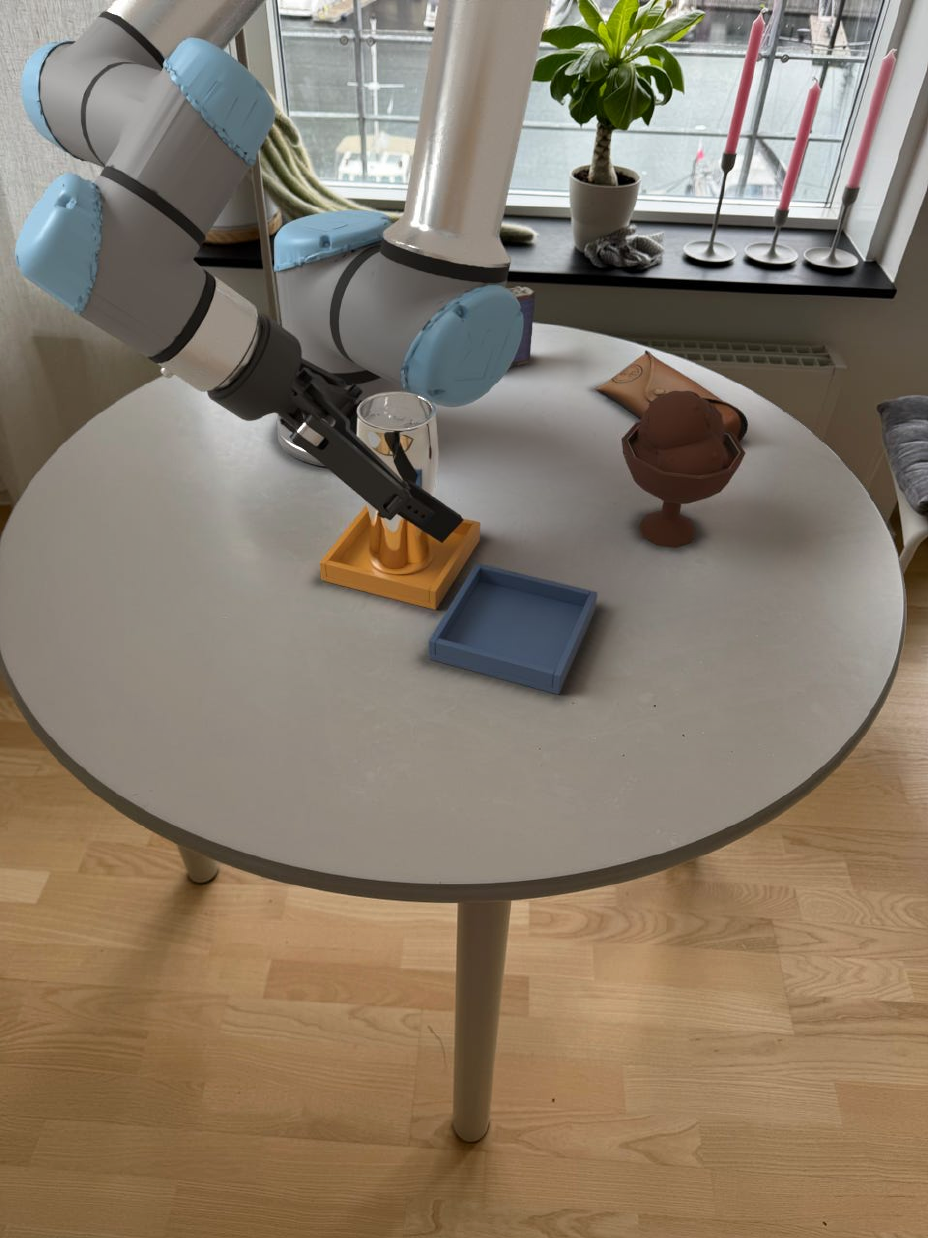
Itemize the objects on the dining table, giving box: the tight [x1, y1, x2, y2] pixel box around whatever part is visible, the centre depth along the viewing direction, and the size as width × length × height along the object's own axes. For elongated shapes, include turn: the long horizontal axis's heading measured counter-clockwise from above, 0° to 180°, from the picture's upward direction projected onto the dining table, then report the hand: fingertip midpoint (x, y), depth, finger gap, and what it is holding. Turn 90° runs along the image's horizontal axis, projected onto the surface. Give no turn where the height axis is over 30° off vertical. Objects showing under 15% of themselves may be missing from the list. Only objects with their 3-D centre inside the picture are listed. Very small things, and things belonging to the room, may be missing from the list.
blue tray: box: [428, 562, 598, 695], centre depth 82 cm, size 11×11×2 cm
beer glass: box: [356, 391, 439, 575], centre depth 84 cm, size 7×7×15 cm
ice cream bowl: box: [621, 391, 746, 548], centre depth 89 cm, size 11×11×15 cm
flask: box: [505, 285, 536, 368], centre depth 117 cm, size 9×3×11 cm, turn 121°
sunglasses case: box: [595, 349, 749, 443], centre depth 111 cm, size 18×7×7 cm
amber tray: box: [319, 504, 481, 611], centre depth 89 cm, size 11×11×2 cm
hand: (426, 487), depth 86 cm, fingers open, 13 cm apart
